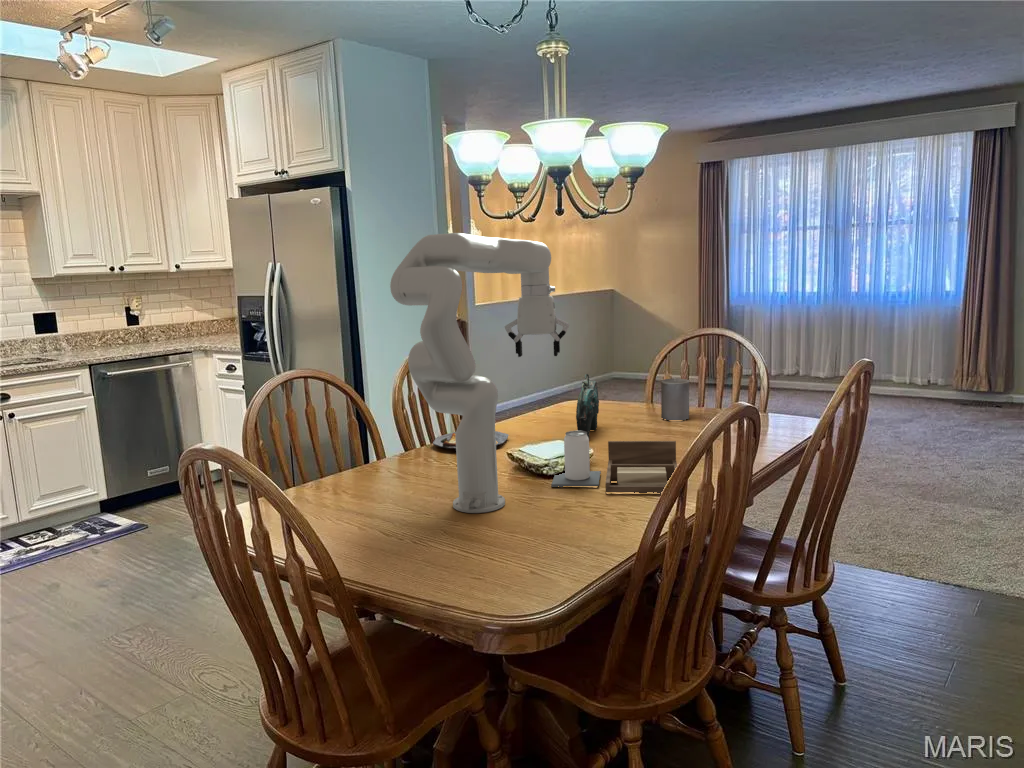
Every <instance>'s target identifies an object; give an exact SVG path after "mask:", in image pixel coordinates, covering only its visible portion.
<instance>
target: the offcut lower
mask: <svg viewBox="0 0 1024 768" xmlns="http://www.w3.org/2000/svg"><path fill="white" fill-rule="evenodd" d="M666 484H667V477H666V483H618V484H617V485H621V486H665V485H666ZM667 485H668V484H667Z"/></svg>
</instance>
